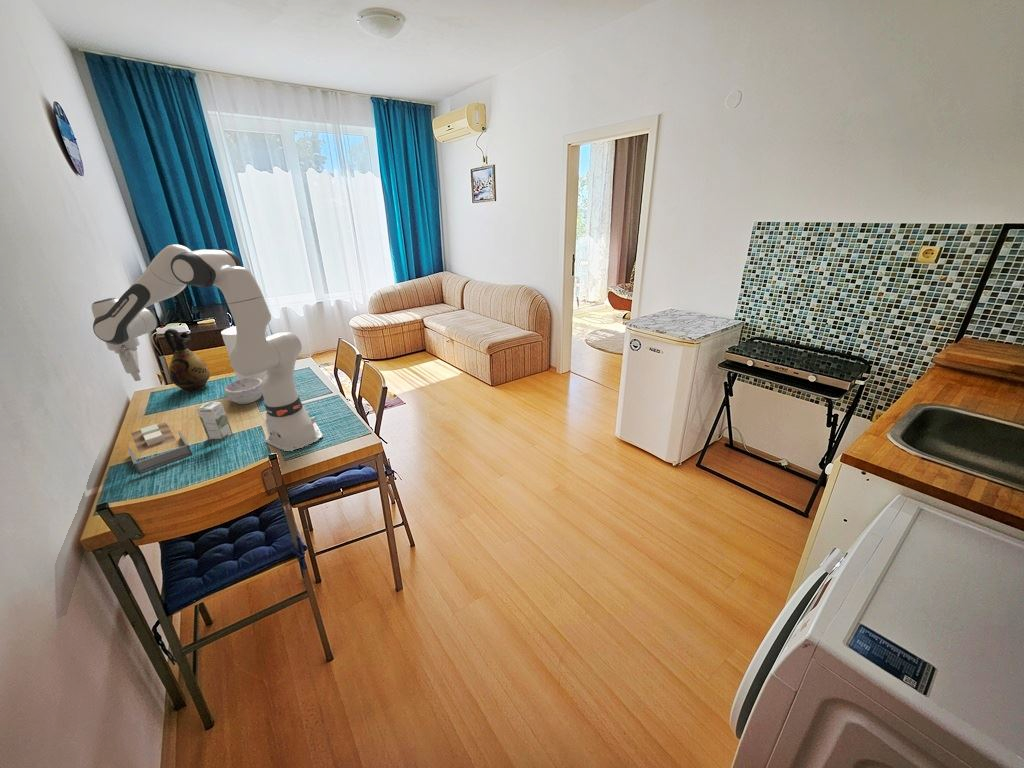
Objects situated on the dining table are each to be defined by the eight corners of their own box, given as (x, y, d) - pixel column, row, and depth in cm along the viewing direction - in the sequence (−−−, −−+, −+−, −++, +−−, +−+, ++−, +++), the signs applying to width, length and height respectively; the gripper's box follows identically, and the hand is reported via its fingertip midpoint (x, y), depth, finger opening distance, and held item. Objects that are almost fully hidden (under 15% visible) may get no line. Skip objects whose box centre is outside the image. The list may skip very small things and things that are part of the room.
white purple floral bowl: (255, 407, 180) (249, 391, 177) (221, 407, 181) (215, 391, 177) (274, 392, 194) (269, 377, 191) (243, 392, 194) (237, 377, 191)
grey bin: (192, 455, 147) (188, 444, 145) (139, 474, 137) (133, 464, 135) (184, 440, 156) (179, 430, 154) (133, 458, 146) (127, 448, 144)
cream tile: (164, 440, 154) (162, 434, 153) (148, 446, 150) (145, 440, 149) (162, 435, 157) (159, 430, 156) (146, 441, 154) (143, 435, 153)
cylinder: (246, 392, 194) (227, 337, 182) (234, 383, 205) (216, 330, 193) (283, 381, 205) (268, 328, 194) (271, 372, 216) (255, 321, 204)
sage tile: (161, 433, 158) (158, 428, 157) (144, 438, 155) (142, 433, 154) (158, 429, 162) (156, 423, 161) (142, 434, 158) (140, 428, 157)
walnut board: (177, 442, 155) (175, 439, 154) (140, 455, 148) (138, 452, 147) (167, 425, 167) (165, 422, 167) (132, 436, 160) (131, 433, 160)
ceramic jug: (221, 382, 206) (201, 325, 193) (193, 396, 192) (169, 336, 179) (194, 380, 209) (172, 324, 197) (165, 393, 196) (139, 334, 183)
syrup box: (219, 434, 160) (206, 401, 154) (233, 433, 160) (221, 401, 154) (208, 442, 155) (195, 408, 149) (223, 441, 155) (210, 408, 148)
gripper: (134, 347, 144) (149, 382, 150) (133, 333, 158) (147, 366, 164) (110, 352, 141) (127, 387, 147) (111, 337, 155) (126, 370, 161)
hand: (137, 376), depth 156 cm, fingers open, 8 cm apart
